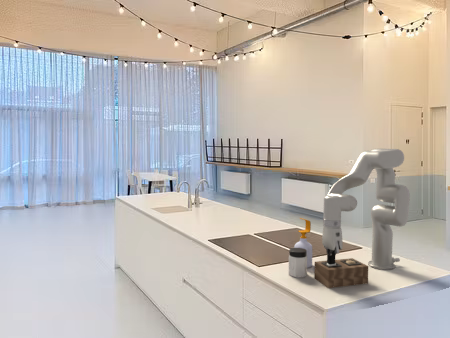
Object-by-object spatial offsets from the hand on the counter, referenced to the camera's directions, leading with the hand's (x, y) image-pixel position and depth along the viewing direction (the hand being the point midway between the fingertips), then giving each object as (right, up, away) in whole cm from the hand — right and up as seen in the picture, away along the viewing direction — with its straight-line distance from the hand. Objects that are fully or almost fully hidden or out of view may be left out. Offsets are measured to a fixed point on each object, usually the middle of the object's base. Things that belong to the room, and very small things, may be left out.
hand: (331, 263), depth 170 cm
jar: (-13, -8, +11) cm, 19 cm away
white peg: (0, -8, +1) cm, 8 cm away
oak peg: (+10, -8, +3) cm, 13 cm away
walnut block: (+5, -9, +2) cm, 10 cm away
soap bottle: (-8, -7, +24) cm, 27 cm away
